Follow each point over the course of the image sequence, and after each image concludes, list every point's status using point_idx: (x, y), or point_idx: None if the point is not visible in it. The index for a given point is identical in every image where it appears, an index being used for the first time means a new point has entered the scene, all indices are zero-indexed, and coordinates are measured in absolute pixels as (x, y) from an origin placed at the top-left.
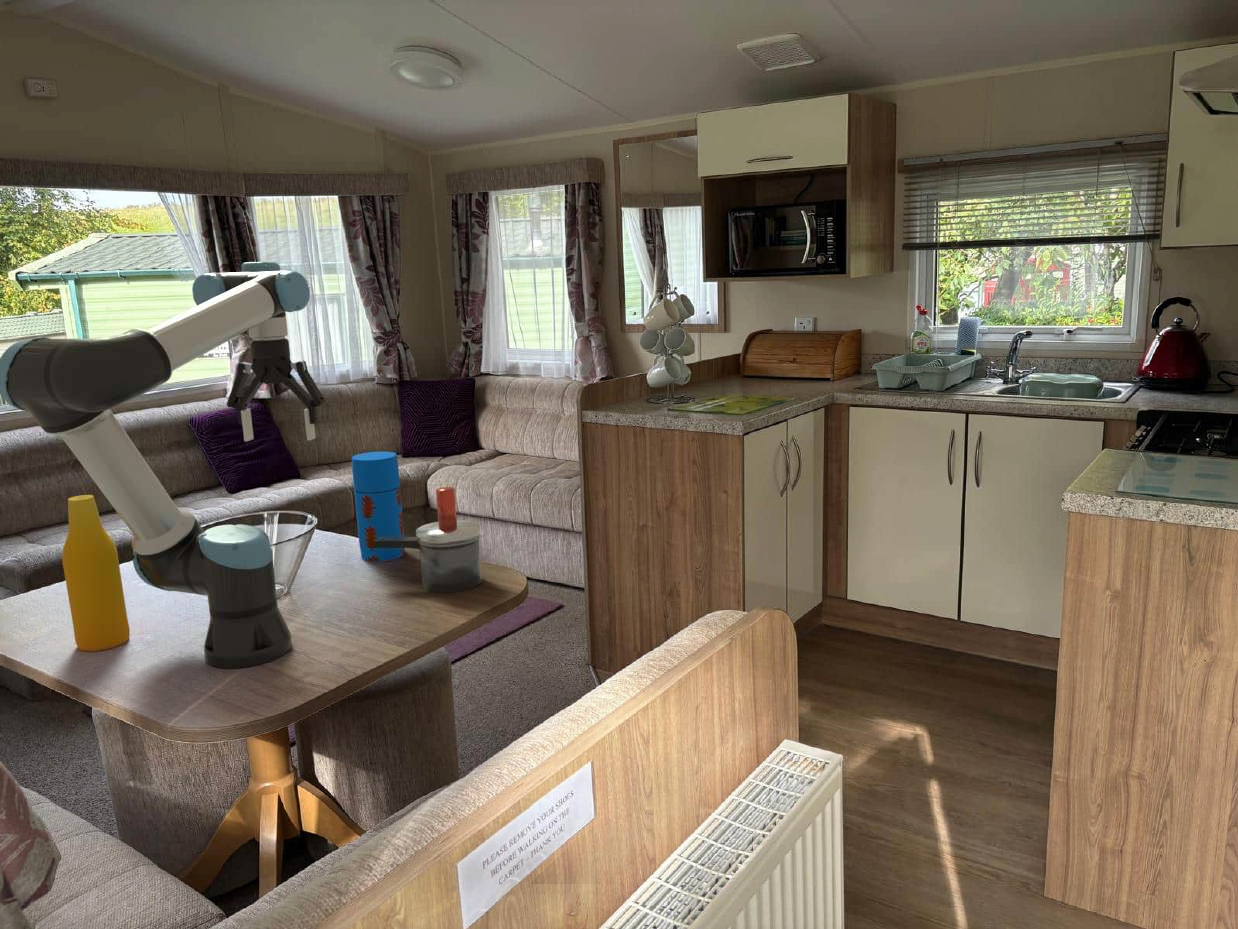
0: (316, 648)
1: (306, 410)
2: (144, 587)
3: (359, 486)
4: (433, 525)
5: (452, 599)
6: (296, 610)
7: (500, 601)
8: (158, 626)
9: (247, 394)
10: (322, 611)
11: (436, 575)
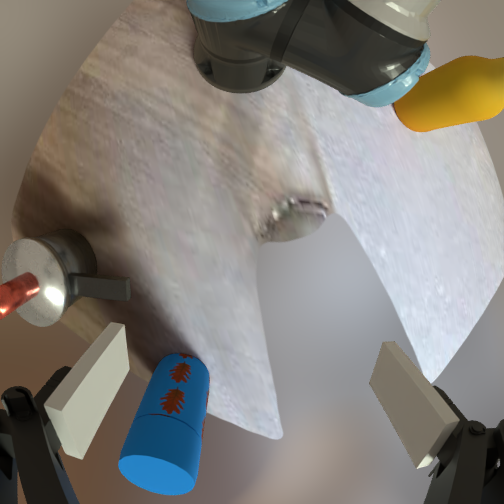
0: (167, 60)
1: (51, 403)
2: (437, 280)
3: (179, 427)
4: (50, 304)
5: (55, 205)
6: (227, 175)
7: (18, 198)
8: (382, 144)
9: (463, 499)
10: (191, 169)
11: (62, 234)
